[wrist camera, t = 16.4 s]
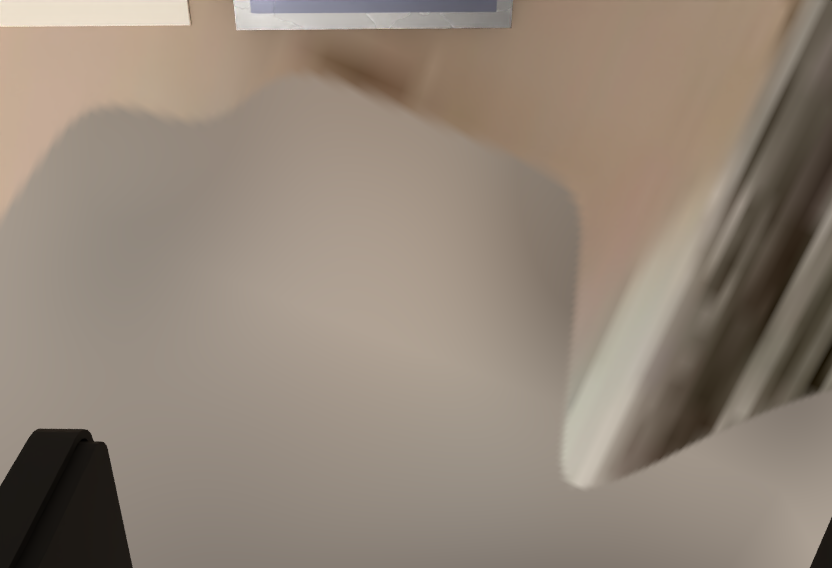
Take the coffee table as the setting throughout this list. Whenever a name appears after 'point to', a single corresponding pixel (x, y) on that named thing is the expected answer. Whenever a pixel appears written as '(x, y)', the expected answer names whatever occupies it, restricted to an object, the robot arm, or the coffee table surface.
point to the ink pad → (371, 14)
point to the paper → (93, 13)
